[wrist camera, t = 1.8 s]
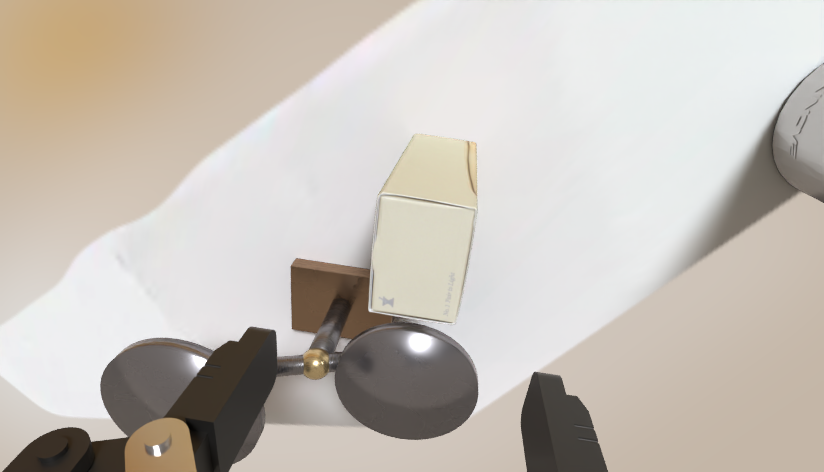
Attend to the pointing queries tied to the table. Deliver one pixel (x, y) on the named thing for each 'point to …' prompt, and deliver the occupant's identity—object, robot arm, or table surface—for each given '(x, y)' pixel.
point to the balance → (320, 364)
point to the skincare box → (425, 231)
